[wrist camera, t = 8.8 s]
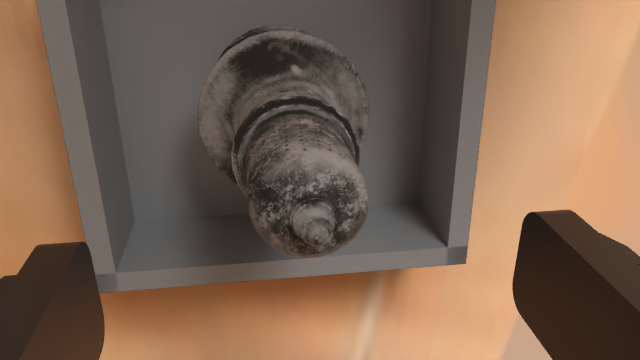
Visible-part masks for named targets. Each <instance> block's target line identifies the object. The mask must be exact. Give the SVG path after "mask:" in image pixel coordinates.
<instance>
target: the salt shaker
mask: <svg viewBox="0 0 640 360" xmlns="http://www.w3.org/2000/svg"><path fill="white" fill-rule="evenodd" d="M197 115H198V127H199V134H200V137H201V139H202V142H203V145H204V147H205V150H206V153H207V154H208V156H209V157H210V158H211V160H212V161H213V162H214V164H215V165H216V167H217V168H218V169H219V171H221V172H222V173H223V174H224V175H226V176H227V177H228V178H229V179H230V180H232V181H233V182H234V183H235V184H237V185H238V186H239V187H240V188H241V190H242V191H243V192H244V194H245V195H246V197H247V202H248V213H249V215H250V218H251V221H252V223H253V226H254V227H255V229H256V231H257V232H258V233H259V235H260V236H261V237H262V239H263V240H264V241H265V242H266V243H267V244H269V245H270V246H271V247H273V248H274V249H275V250H277V251H279V252H282V253H284V254H286V255H289V256H294V257H299V258H317V257H322V256H325V255H328V254H332V253H334V252H336V251H338V250H339V249H341V248H343V247H345V246H346V245H347V244H348V243H349V242H350V241H352V240H353V239H354V238H355V237H356V236H357V234H358V232H359V231H360V229H361V228H362V226H363V225H364V222H365V219H366V216H367V212H368V190H367V186H366V183H365V179H364V177H363V175H362V173H361V171H360V170H359V165H360V149H361V147H362V145H363V141H364V138H365V135H366V132H367V129H368V121H369V102H368V98H367V93H366V89H365V84H364V82H363V81H362V79H361V77H360V75H359V73H358V71H357V69H356V68H355V66H354V64H353V63H352V62H351V61H350V60H349V59H348V58H347V57H346V56H345V55H344V54H343V53H342V52H341V51H340V50H339V49H338V48H337V47H335V46H333V45H332V44H330V43H328V42H327V41H325V40H323V39H321V38H320V37H318V36H314V35H311V34H309V33H308V32H306V31H304V30H302V29H298V28H295V27H291V26H287V25H266V26H263V27H259V28H256V29H252V30H249V31H248V32H246V33H244V34H243V35H241V36H240V37H238V38H236V39H235V40H234V41H233V42H232V43H231V44H230V45H229V46H228V47H227V48H226V49H225V50H224V51H223V52H222V54H221V56H220V58H219V60H218V61H217V62H216V64H215V65H214V66H213V67H212V68H211V70H210V72H209V74H208V76H207V78H206V80H205V82H204V84H203V86H202V88H201V94H200V99H199V104H198V109H197Z"/></svg>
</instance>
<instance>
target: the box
mask: <svg viewBox="0 0 640 360" xmlns="http://www.w3.org/2000/svg"><path fill="white" fill-rule="evenodd" d="M36 3H37V8H38V13H39V18H40V23H41V28H42V33H43V37H44V42H45V47H46V52H47V57H48V62H49V67H50V71H51V76H52V81H53V86H54V91H55V96H56V101H57V105H58V110H59V115H60V120H61V125H62V130H63V134H64V139H65V144H66V149H67V154H68V159H69V164H70V168H71V173H72V178H73V183H74V188H75V193H76V198H77V202H78V207H79V212H80V217H81V222H82V227H83V232H84V236H85V241H86V244H87V245H88V247H89V250H90V253H91V257H92V262H93V267H94V271H95V276H96V281H97V286H98V291H99V293H109V292H122V291H134V290H146V289H159V288H171V287H184V286H196V285H208V284H221V283H233V282H245V281H258V280H270V279H282V278H295V277H307V276H320V275H332V274H344V273H357V272H369V271H381V270H394V269H406V268H418V267H431V266H443V265H456V264H466V257H467V248H468V239H469V230H470V222H471V213H472V204H473V196H474V187H475V178H476V169H477V161H478V152H479V143H480V135H481V126H482V117H483V108H484V100H485V91H486V82H487V73H488V65H489V56H490V47H491V39H492V30H493V21H494V12H495V4H496V0H36ZM266 25H287V26H291V27H295V28H298V29H302V30H304V31H306V32H308V33H309V34H311V35H314V36H318V37H320V38H321V39H323V40H325V41H327V42H328V43H330V44H332V45H333V46H335V47H337V48H338V49H339V50H340V51H341V52H342V53H343V54H344V55H345V56H346V57H347V58H348V59H349V60H350V61H351V62H352V63H353V64H354V66H355V68H356V69H357V71H358V73H359V75H360V77H361V79H362V81H363V82H364V84H365V89H366V93H367V98H368V102H369V121H368V129H367V132H366V135H365V138H364V141H363V145H362V147H361V149H360V165H359V170H360V171H361V173H362V175H363V177H364V179H365V183H366V186H367V190H368V212H367V216H366V219H365V222H364V225H363V226H362V228H361V229H360V231H359V232H358V234H357V236H356V237H355V238H354V239H353V240H352V241H350V242H349V243H348V244H347V245H346V246H345V247H343V248H341V249H339V250H338V251H336V252H334V253H332V254H328V255H325V256H322V257H317V258H299V257H294V256H289V255H286V254H284V253H282V252H279V251H277V250H275V249H274V248H273V247H271V246H270V245H269V244H267V243H266V242H265V241H264V240H263V239H262V237H261V236H260V235H259V233H258V232H257V231H256V229H255V227H254V226H253V223H252V221H251V218H250V215H249V213H248V202H247V197H246V195H245V194H244V192H243V191H242V190H241V188H240V187H239V186H238V185H237V184H235V183H234V182H233V181H232V180H230V179H229V178H228V177H227V176H226V175H224V174H223V173H222V172H221V171H219V169H218V168H217V167H216V165H215V164H214V162H213V161H212V160H211V158H210V157H209V156H208V154H207V153H206V150H205V147H204V145H203V142H202V139H201V137H200V134H199V127H198V115H197V109H198V104H199V99H200V94H201V88H202V86H203V84H204V82H205V80H206V78H207V76H208V74H209V72H210V70H211V68H212V67H213V66H214V65H215V64H216V62H217V61H218V60H219V58H220V56H221V54H222V52H223V51H224V50H225V49H226V48H227V47H228V46H229V45H230V44H231V43H232V42H233V41H234V40H235V39H236V38H238V37H240V36H241V35H243V34H244V33H246V32H248V31H249V30H252V29H256V28H259V27H263V26H266Z"/></svg>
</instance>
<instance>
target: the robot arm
mask: <svg viewBox="0 0 640 360" xmlns="http://www.w3.org/2000/svg"><path fill="white" fill-rule="evenodd" d="M513 297H514V301H515V304H516V307H517V310H518V312H519V313H520V315H521V316H522V318H523V319H524V321H525V322H526V323H527V325H528V326H529V327H530V329H531V330H532V332H533V333H534V334H535V336H536V337H537V339H538V340H539V341H540V342H541V344H542V345H543V347H544V348H545V349H546V351H547V352H548V354H549V355H550V357H551V358H552V359H553V360H640V257H639V256H638V255H637V254H636V253H635V252H633V251H632V250H631V249H630V248H628V247H627V246H625V245H623V244H621V243H619V242H617V241H615V240H613V239H611V238H609V237H607V236H605V235H602V234H601V233H598V232H597V231H596V230H594V229H593V228H592V227H591V226H590V225H589V224H588V223H586V222H585V221H584V220H583V219H582V218H581V217H579V216H578V215H577V214H576V213H575V212H573V211H571V210H556V211H542V212H531V213H528V214H527V215H526V216H525V218H524V221H523V224H522V229H521V235H520V241H519V247H518V253H517V259H516V265H515V271H514V277H513ZM103 343H104V315H103V310H102V305H101V300H100V295H99V291H98V286H97V281H96V276H95V271H94V267H93V262H92V257H91V253H90V250H89V247H88V245H87V244H86V243H85V242H72V243H58V244H43V245H38V246H36V247H35V248H34V250H33V251H32V253H31V254H30V256H29V257H28V259H27V260H26V262H25V264H24V265H23V267H22V268H21V270H20V271H19V273H18V274H17V275H13V276H4V277H3V278H1V279H0V360H99V358H100V355H101V352H102V348H103Z"/></svg>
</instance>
